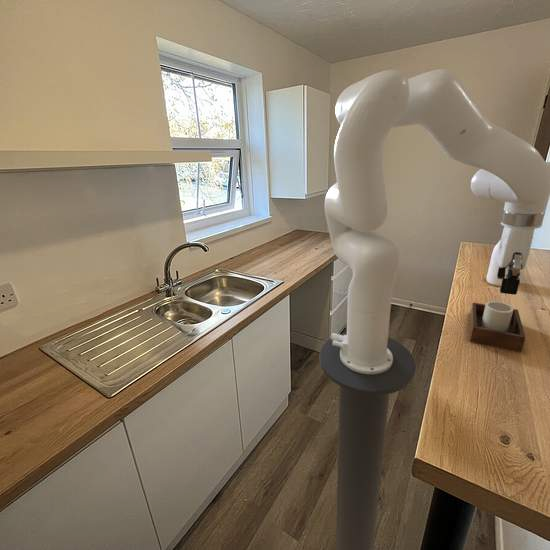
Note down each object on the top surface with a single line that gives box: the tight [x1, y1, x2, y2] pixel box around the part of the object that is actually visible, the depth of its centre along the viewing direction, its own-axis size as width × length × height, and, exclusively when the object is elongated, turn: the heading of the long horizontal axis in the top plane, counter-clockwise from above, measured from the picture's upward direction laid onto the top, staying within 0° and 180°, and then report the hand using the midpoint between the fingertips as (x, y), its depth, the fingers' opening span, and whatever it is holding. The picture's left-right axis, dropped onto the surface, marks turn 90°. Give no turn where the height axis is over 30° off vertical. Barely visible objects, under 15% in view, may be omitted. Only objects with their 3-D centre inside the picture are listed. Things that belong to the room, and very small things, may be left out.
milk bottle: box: [486, 227, 504, 287], centre depth 104 cm, size 8×8×20 cm
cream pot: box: [480, 300, 515, 332], centre depth 80 cm, size 6×6×7 cm
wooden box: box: [469, 302, 526, 353], centre depth 81 cm, size 11×15×4 cm
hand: (505, 285), depth 76 cm, fingers open, 9 cm apart
